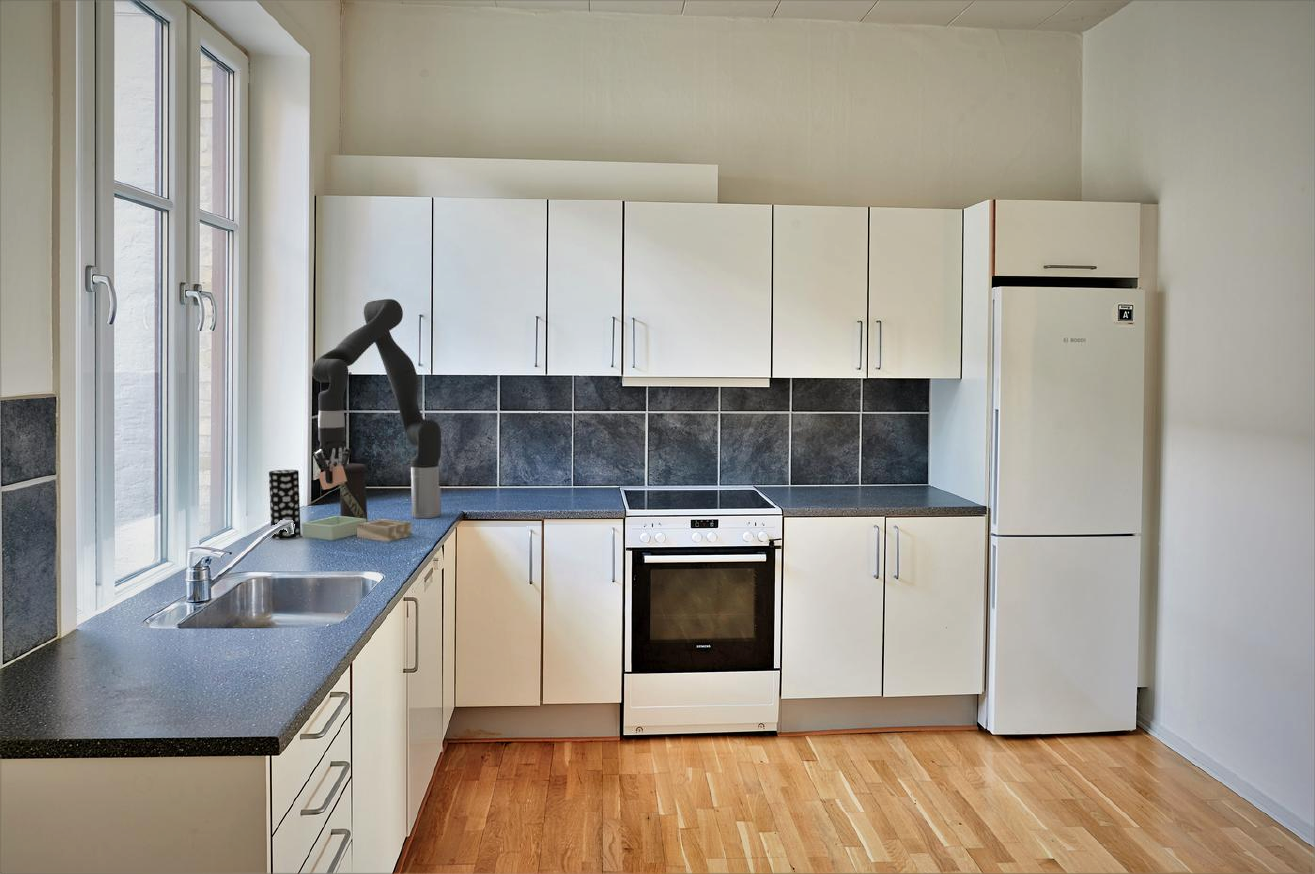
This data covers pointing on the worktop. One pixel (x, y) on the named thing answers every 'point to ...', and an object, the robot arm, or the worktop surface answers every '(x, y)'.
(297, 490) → the spotted tube
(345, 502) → the container
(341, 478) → the salmon orange block
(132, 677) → the worktop surface
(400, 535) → the brown hollow flat block
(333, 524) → the bin
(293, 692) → the worktop surface
